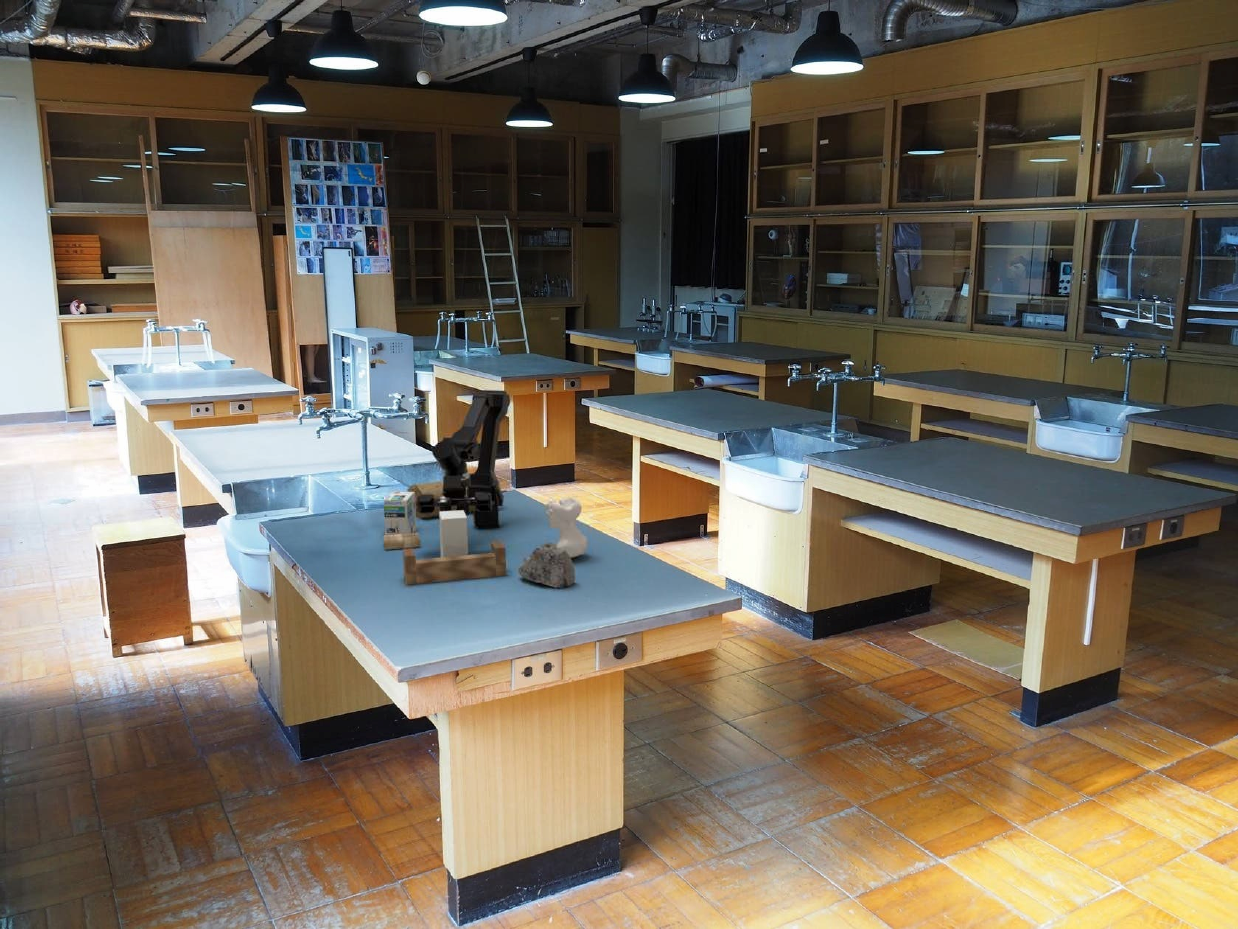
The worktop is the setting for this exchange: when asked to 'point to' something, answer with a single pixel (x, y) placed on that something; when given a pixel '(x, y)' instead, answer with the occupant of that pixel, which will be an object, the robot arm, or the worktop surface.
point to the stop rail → (454, 566)
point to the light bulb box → (400, 513)
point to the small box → (453, 533)
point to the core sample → (437, 492)
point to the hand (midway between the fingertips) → (453, 531)
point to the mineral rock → (549, 566)
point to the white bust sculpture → (567, 525)
